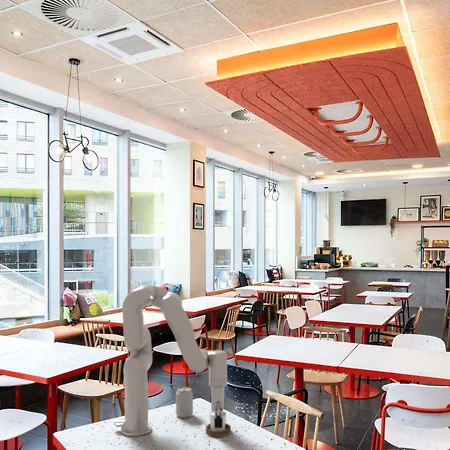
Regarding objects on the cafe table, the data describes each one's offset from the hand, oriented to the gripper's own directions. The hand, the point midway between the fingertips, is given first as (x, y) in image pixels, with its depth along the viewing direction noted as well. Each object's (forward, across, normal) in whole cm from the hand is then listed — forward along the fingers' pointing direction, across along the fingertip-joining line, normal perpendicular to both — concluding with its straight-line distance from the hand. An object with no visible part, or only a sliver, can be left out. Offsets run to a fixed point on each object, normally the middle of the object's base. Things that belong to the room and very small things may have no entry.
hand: (218, 423), depth 200 cm
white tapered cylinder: (+3, 0, 0) cm, 3 cm away
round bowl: (+4, 0, 0) cm, 4 cm away
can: (+4, -20, -15) cm, 25 cm away
